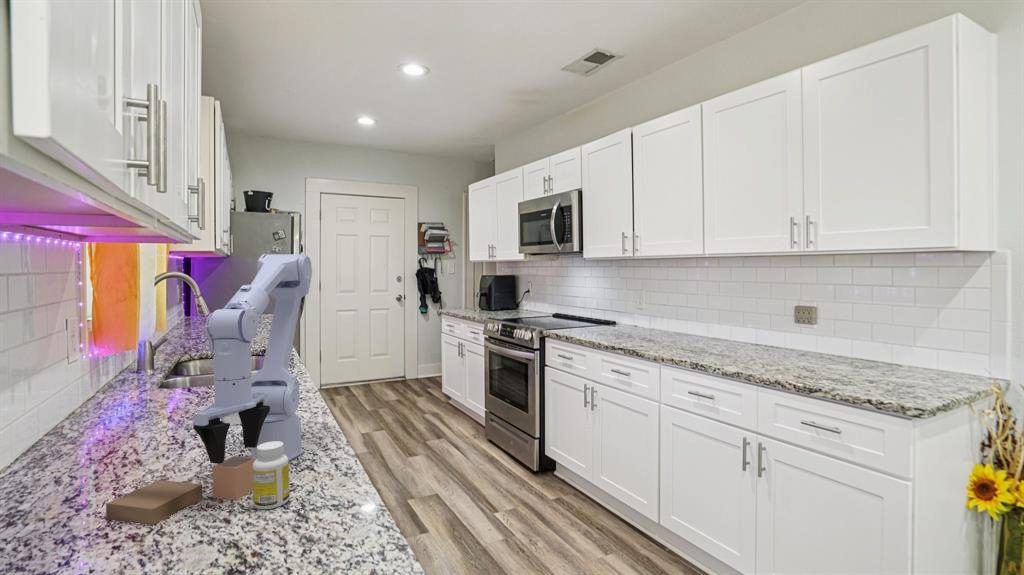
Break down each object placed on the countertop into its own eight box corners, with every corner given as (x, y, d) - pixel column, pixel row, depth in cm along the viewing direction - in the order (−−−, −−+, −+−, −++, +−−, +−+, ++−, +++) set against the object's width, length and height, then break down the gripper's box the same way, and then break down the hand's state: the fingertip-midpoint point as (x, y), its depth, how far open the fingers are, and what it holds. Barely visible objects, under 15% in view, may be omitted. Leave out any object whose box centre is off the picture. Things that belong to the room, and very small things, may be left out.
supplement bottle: (280, 492, 86) (279, 437, 86) (295, 501, 82) (294, 444, 82) (247, 503, 82) (246, 445, 81) (262, 513, 78) (261, 453, 78)
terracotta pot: (234, 485, 89) (234, 455, 89) (257, 488, 88) (256, 457, 88) (213, 497, 84) (212, 465, 84) (236, 500, 83) (235, 468, 83)
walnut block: (159, 496, 85) (159, 479, 85) (202, 501, 83) (202, 484, 83) (106, 522, 77) (106, 503, 77) (152, 528, 75) (152, 509, 75)
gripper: (218, 387, 77) (220, 472, 78) (281, 370, 92) (282, 442, 92) (182, 385, 79) (184, 468, 79) (249, 368, 93) (250, 439, 93)
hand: (234, 454), depth 86 cm, fingers open, 7 cm apart
